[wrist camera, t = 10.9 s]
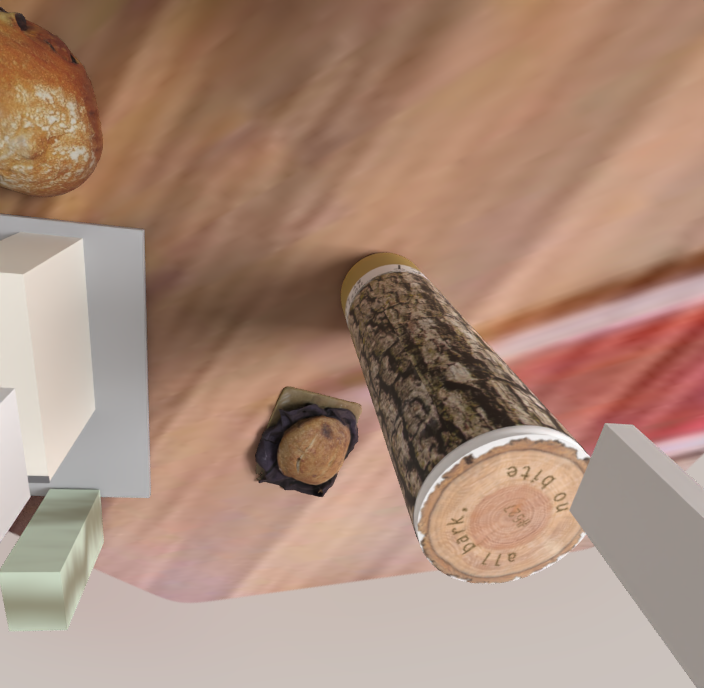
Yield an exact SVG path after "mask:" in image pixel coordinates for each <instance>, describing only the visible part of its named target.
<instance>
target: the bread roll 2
mask: <svg viewBox="0 0 704 688" xmlns="http://www.w3.org/2000/svg"><path fill="white" fill-rule="evenodd" d="M361 412H362V409H361V405H360V404H358V403H355V402H349V401H345V400H341V399H338V398H333V397H330V396H326V395H321V394H318V393H314V392H310V391H306V390H302V389H298V388H294V387H285V388H284V389H283V391H282V393H281V395H280V397H279V399H278V401H277V404H276V406H275V409H274V411H273V413H272V416H271V418H270V420H269V423H268V426H267V428H266V430H265V431H264V433H263V434H262V438H261V440H260V443H259V445H258V448H257V452H256V455H255V457H256V462H257V465H256V466H257V467H256V474H257V473H258V474H261V472H263V474H261V475H260V476H261V477H259V478H257V480H259V483H262V482H268V483H273V484H276V485H280V486H281V487H283V488H284V490H296V491H299V492H301V493H306V494H309V495H314V496H318V497H323V496H324V494H325V493H326V492H327V490H328V489H329V488H330V487H332V485H333V484H334V481H335V479H336V477H337V474H338V471H339V469H340V468H341V466H342V464H343V462H344V460H345V459H346V458H347V457H348V454H349V453H350V452H351V451H352V450H353V449H354V445H355V444H356V443H357V442H358V427H357V423H358V419H359V416H360V414H361ZM318 492H319V493H318Z"/></svg>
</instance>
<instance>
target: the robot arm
mask: <svg viewBox="0 0 704 688" xmlns="http://www.w3.org/2000/svg"><path fill="white" fill-rule="evenodd" d="M29 498H30V490H29V483H28V476H27V469H26V462H25V456H24V449H23V442H22V435H21V428H20V421H19V414H18V407H17V400H16V393H15V388H2V387H0V543H1V541H2V539H3V538H4V536H5V535H6V533H7V532H8V530H9V529H10V527H11V526H12V524H13V523H14V521H15V520H16V518H17V517H18V515H19V514H20V512H21V511H22V509H23V507H24V506H25V504H26V503H27V501H28V500H29ZM569 511H570V512H571V514H572V515H573V516H574V518H575V519H576V521H577V522H578V523H579V525H580V526H581V527H582V529H583V530H584V532H585V533H586V534H587V536H588V537H589V539H590V540H591V541H592V543H593V544H594V546H595V547H596V548H597V550H598V551H599V552H600V554H601V555H602V557H603V558H604V559H605V561H606V562H607V564H608V565H609V566H610V568H611V569H612V571H613V572H614V573H615V575H616V576H617V578H618V579H619V580H620V582H621V583H622V584H623V586H624V587H625V589H626V590H627V591H628V593H629V594H630V596H631V597H632V598H633V600H634V601H635V602H636V604H637V605H638V606H639V608H640V610H641V611H642V612H643V614H644V615H645V616H646V618H647V619H648V621H649V622H650V623H651V625H652V626H653V627H654V629H655V630H656V632H657V633H658V634H659V636H660V637H661V639H662V640H663V641H664V643H665V644H666V646H667V647H668V648H669V650H670V651H671V653H672V654H673V655H674V657H675V658H676V660H677V661H678V662H679V664H680V665H681V666H682V668H683V669H684V671H685V672H686V673H687V675H688V676H689V678H690V679H691V680H692V682H693V683H694V685H695V686H696V687H697V688H704V488H703V487H702V486H701V485H700V484H699V483H697V482H696V481H695V480H694V479H693V478H692V477H691V476H689V475H688V474H687V473H686V472H685V471H684V470H683V469H682V468H681V467H679V466H678V465H677V464H676V463H675V462H674V461H673V460H672V459H671V458H669V457H668V456H667V455H666V454H665V453H664V452H663V451H662V450H660V449H659V448H658V447H657V446H656V445H655V444H654V443H653V442H651V441H650V440H649V439H648V438H647V437H646V436H645V435H644V434H643V433H641V432H640V431H639V430H638V429H637V428H636V427H635V426H634V425H627V424H610V423H605V425H604V427H603V430H602V432H601V434H600V437H599V439H598V442H597V444H596V447H595V449H594V451H593V454H592V456H591V459H590V461H589V464H588V466H587V468H586V471H585V473H584V476H583V478H582V481H581V483H580V485H579V488H578V490H577V493H576V495H575V498H574V500H573V502H572V505H571V507H570V510H569Z"/></svg>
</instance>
